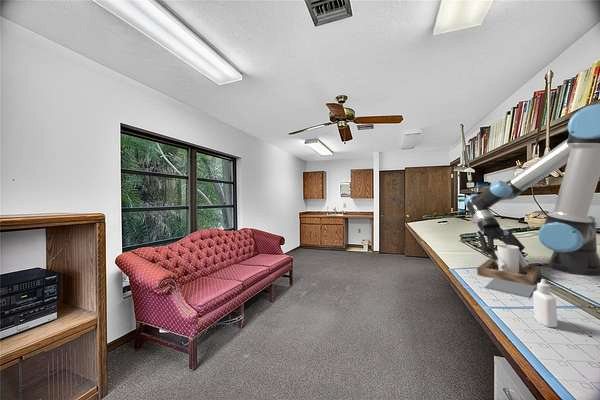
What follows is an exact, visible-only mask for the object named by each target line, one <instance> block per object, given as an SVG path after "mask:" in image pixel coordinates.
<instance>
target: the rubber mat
mask: <svg viewBox="0 0 600 400" xmlns="http://www.w3.org/2000/svg"><path fill="white" fill-rule="evenodd" d="M484 288H485V289H488V290H494V291H497V292H501V293H505V294H511V295H515V296H520V297H524V298H528V299H530V298H531V296H532V294H533V292H534V291H536V288H537V285H528V284H522V283H517V282H512V281H507V280H502V279H497V278H492V280H491V281H490V282H488V283H487V284H486V285H485V286H484Z"/></svg>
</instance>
